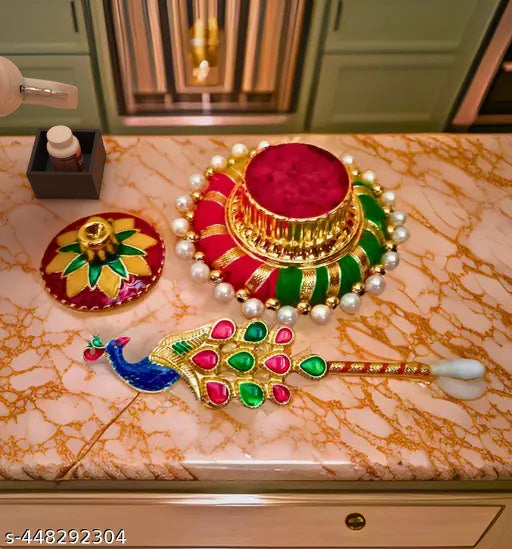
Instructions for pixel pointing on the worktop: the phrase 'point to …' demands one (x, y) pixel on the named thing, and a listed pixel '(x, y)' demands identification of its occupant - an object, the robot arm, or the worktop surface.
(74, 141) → the pill bottle
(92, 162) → the trash bin
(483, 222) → the worktop surface
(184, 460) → the worktop surface
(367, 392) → the worktop surface
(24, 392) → the worktop surface
